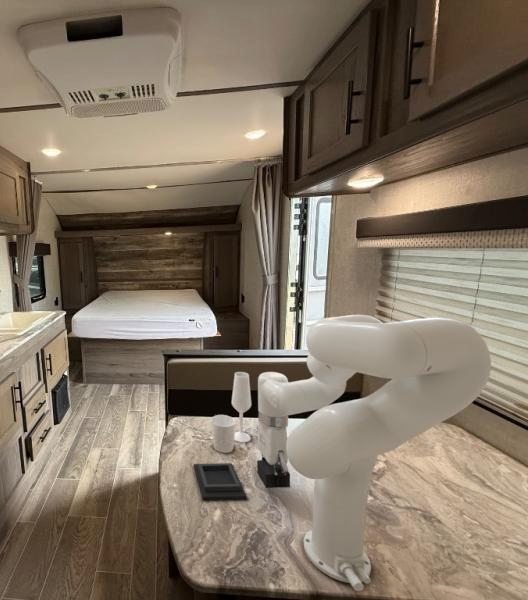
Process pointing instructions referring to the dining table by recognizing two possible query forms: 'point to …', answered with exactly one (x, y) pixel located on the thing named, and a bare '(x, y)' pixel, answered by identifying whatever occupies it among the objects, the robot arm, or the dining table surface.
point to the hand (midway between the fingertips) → (273, 477)
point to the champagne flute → (241, 402)
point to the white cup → (223, 433)
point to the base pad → (218, 482)
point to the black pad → (269, 473)
